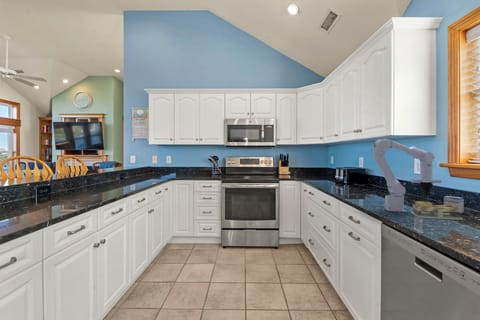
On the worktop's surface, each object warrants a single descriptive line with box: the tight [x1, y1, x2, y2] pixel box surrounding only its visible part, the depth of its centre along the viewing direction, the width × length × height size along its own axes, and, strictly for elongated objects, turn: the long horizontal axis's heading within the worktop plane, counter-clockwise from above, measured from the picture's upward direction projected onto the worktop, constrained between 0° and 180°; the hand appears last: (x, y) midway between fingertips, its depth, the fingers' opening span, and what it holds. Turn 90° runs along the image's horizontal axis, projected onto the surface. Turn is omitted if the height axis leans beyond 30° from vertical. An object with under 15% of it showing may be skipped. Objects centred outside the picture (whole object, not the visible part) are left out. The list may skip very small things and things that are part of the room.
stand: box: [410, 208, 464, 221], centre depth 135 cm, size 20×11×5 cm, turn 73°
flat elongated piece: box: [412, 204, 461, 213], centre depth 135 cm, size 19×9×2 cm, turn 73°
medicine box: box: [443, 195, 465, 214], centre depth 145 cm, size 8×4×9 cm, turn 27°
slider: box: [415, 201, 433, 207], centre depth 137 cm, size 6×5×3 cm
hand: (426, 195), depth 148 cm, fingers closed
